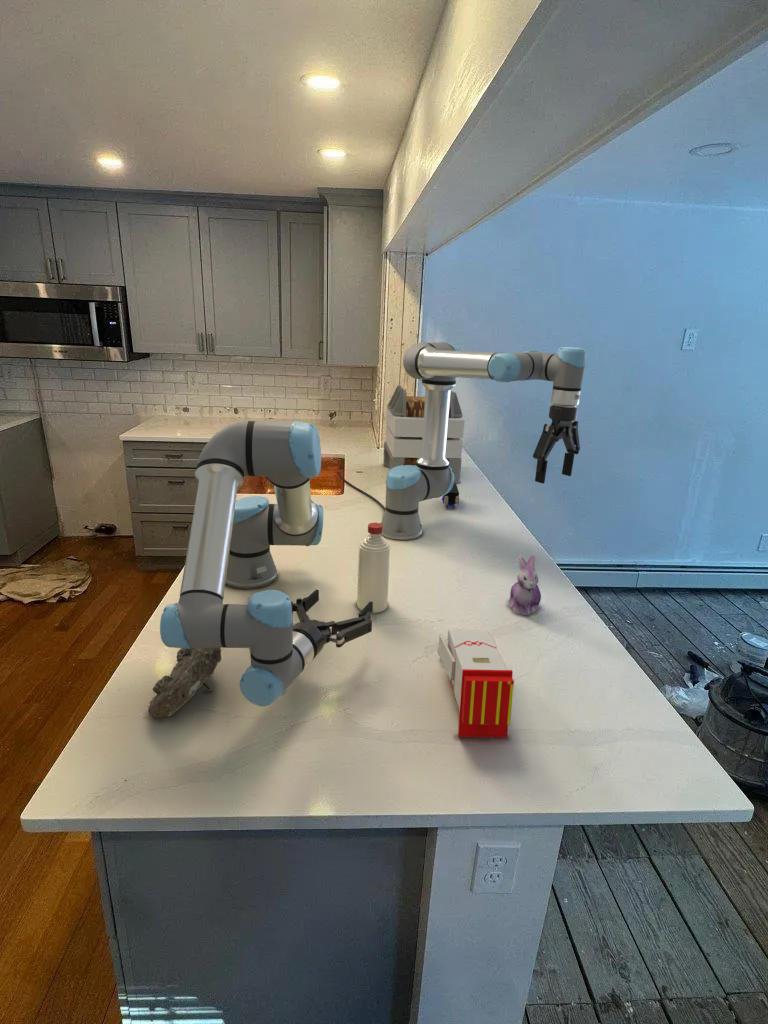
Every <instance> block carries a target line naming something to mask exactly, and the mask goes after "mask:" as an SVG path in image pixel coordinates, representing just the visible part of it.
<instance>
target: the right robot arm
mask: <svg viewBox="0 0 768 1024" xmlns="http://www.w3.org/2000/svg"><path fill="white" fill-rule="evenodd" d="M586 361H587V350H586V349H584V348H581V347H571V346H561V347H559V348H558V350H557V352H556V353H552V352H551V353H550V352H542V351H537V350H525V351H523V352H497V351H471V350H470V351H469V350H468V351H467V350H461V349H460V347H459V346H458V345H457V344H455V343H451V342H445V341H444V342H442V341H441V342H440V341H439V342H438V341H437V342H417V343H415V344H412V345H411V346H409V347H408V348H407V350H406V351H405V353H404V355H403V359H402V365H403V369H404V371H405V372H406V374H407V375H408V376H410V377H411V378H412V379H416V380H421V385H422V386H423V387H424V388H425V393H424V397H425V405H424V420H423V435H422V450H421V457H420V458H418V459H417V461H416V466H413V465H401V466H396V467H394V468H392V469H390V468H389V470H388V472H387V474H386V479H385V504H382V503H381V502H380V501H379V500H377V499H376V498H375V497H374V496H372V495H371V494H369V493H367V492H366V491H364V490H362V489H360V488H359V487H357V486H355V485H353V484H352V483H350V482H349V481H348V480H346V479H345V478H344V477H343V476H342V475H341V473H340V471H337V475H338V477H339V478H340V479H341V480H342V481H343V482H344V483H346V484H347V485H348V486H350V487H352V488H353V489H355V490H357V491H358V492H360V493H362V494H363V495H365V496H367V497H368V498H370V499H371V500H372V501H374V502H375V503H377V504H378V505H379V506H380V507H381V508H382V510H383V515H382V519H381V522H379V523H380V524H382V525H383V532H382V533H381V534H380V535H381V536H382V537H384V538H387V539H389V540H395V541H410V540H415V539H418V538H420V537H421V536H422V535H423V525H422V524H421V518H420V515H419V507H420V506H419V505H420V502H423V501H427V500H431V499H437V498H440V497H441V498H442V496H443V495H445V494H447V493H448V492H449V491H450V490H451V489H452V487H453V484H454V473H452V469H451V467H450V466H449V462H448V461H447V459H446V458H445V453H446V441H447V429H448V417H449V405H450V393H451V391H452V389H453V388H455V386H456V385H457V378H463V379H478V380H490V381H495V382H498V383H510V382H518V381H519V382H520V381H535V380H536V381H537V380H538V381H547V382H552V390H551V396H550V403H551V405H550V406H549V412H548V418H549V419H550V420H551V423H550V424H548V423H544V424H543V428H542V432H541V435H540V437H539V439H538V441H537V444H536V446H535V449H534V451H533V454H532V458H533V459H535V460H537V461H536V467H535V478H534V482H536V483H540V484H545V482H546V476H547V468H548V463H549V461H548V460H547V459H548V457H549V455H550V453H551V452H552V450H553V448H554V447H555V445H556V443H557V442H559V441H560V440H562V442H563V445H564V447H565V450H566V452H564V456H563V463H562V468H561V469H562V470H561V475H564V476H567V477H571V476H572V472H573V466H574V461H575V460H574V459H575V455H579V453H580V450H581V443H580V435H579V421H578V420H577V419H578V412H579V408H578V405H579V404H580V399H581V391H582V385H583V379H584V373H585V369H586ZM384 505H385V506H384Z"/></svg>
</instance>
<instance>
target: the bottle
mask: <svg viewBox="0 0 768 1024" xmlns="http://www.w3.org/2000/svg"><path fill="white" fill-rule="evenodd" d="M390 557H391V545H390V541H388V540H387V539H386V537H384V536H383V535H381V534H377V535H375V534H370V533H368V535H366V537H364V538H363V539H361V540H360V542H359V543H358V559H357V561H358V563H357V564H358V565H357V568H358V569H357V598H356V606H357V608H358V609H359V610H360V611H362V610H363V609H364V607H365V606H366V605H367V604H368V603H369V602H370V601H371V602H373V613H374V614H376V613H381V612H383V611H385V610H386V609H387V608H388V600H389V597H388V596H389V577H390V563H391V562H390V559H391V558H390ZM373 613H372V614H373Z"/></svg>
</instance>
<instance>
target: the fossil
mask: <svg viewBox="0 0 768 1024" xmlns="http://www.w3.org/2000/svg"><path fill="white" fill-rule="evenodd" d="M175 657H176V662H177V663H176V664H175V666H173V669H172V670H171V671H170V673H169V675H164V676H162V677H161V679H158V680H157V682H156V683H154V686H153V687H152V691H153V692H154V694H155V696H154V697H153V698H152V699H151V700H150V701H149V705H148V706H147V708H148V709H147V711H148V715H149V717H153V718H154V719H161V718H167V717H171V716H173V715H174V714H175V713H176V712H177V711H178V710H180V709H181V708H182V707H183V706H184V705H185V704H186V703H187V702H188V701H189V700H191V698H192V697H194V696H195V694H196V693H197V690H199V689H200V688H201V687H202V686H203V687H205V688H206V690H208V691H210V690H211V687H210V686H209V685H208V684H207V683H206V680H207V679H209V678H211V677H212V675H213V674H214V673H215V670H216V668H217V666H218V664H219V663H220V662H221V661H222V648H192V649H188V648H179V649H178V650H177V652H176V656H175Z"/></svg>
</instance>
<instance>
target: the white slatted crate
mask: <svg viewBox="0 0 768 1024" xmlns="http://www.w3.org/2000/svg"><path fill="white" fill-rule="evenodd" d="M407 394H408V393H407V390H406V389H404V388H403V387H402V385H399V384H398V385H397V386H396V388H395V390H394V392H393V394H392V395H391V398H390V400H389V402H388V404H387V405H386V413H385V414H386V415H385V423H386V428H385V438H384V442H383V466H384V467H388V468H389V470H390V469H392V468H394V467H396V466H401V465H404V466H405V465H413V466H416V461H417V459H418V458H420V457H421V450H422V435H423V420H424V405H425V396H415V395H414V396H413V395H412V396H411V395H407ZM464 429H465V419H464V418H463V411H462V408H461V405H460V402H459V398H458V395H457V392H455V391H453V390H451V393H450V405H449V417H448V429H447V441H446V453H445V458H446V459H447V461H448V462H449V466H450V467H451V469H452V473H454V483H455V484H459V483H461V472H462V461H463V460H462V453H463V442H464V441H463V440H462V439H463V438H464V431H465V430H464Z"/></svg>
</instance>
